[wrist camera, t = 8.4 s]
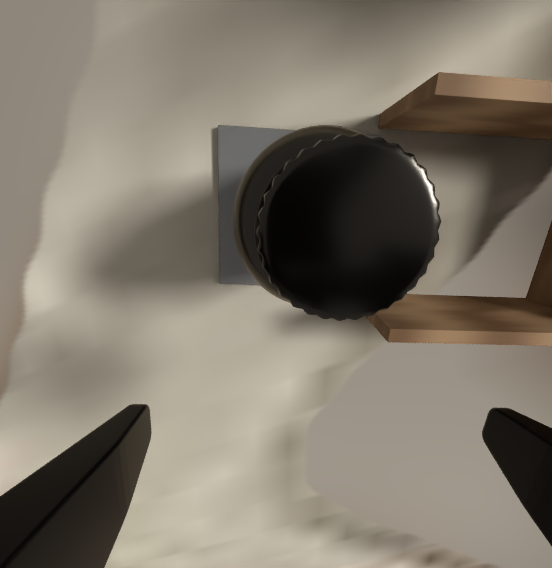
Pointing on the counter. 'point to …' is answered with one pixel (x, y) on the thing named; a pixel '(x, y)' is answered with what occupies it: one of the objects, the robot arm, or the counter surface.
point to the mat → (232, 167)
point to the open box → (548, 275)
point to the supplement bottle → (336, 221)
